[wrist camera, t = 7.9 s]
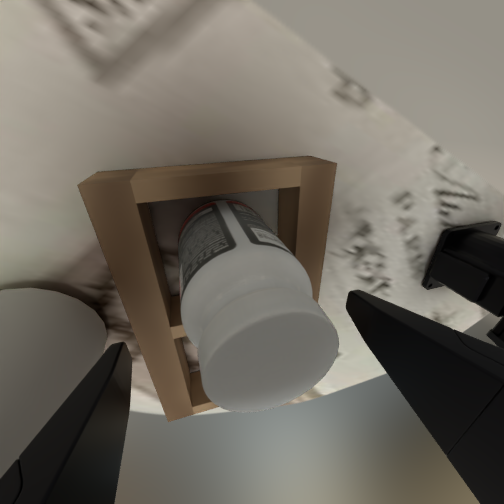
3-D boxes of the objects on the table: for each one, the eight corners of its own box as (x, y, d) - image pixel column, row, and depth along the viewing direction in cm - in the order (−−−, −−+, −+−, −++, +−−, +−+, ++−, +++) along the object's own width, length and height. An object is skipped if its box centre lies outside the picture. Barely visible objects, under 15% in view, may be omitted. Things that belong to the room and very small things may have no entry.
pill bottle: (190, 283, 17) (203, 442, 9) (166, 207, 14) (152, 334, 6) (266, 264, 18) (345, 389, 10) (259, 189, 15) (363, 275, 7)
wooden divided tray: (309, 155, 15) (336, 163, 12) (293, 352, 24) (307, 380, 21) (97, 171, 12) (77, 185, 10) (169, 386, 21) (168, 422, 19)
